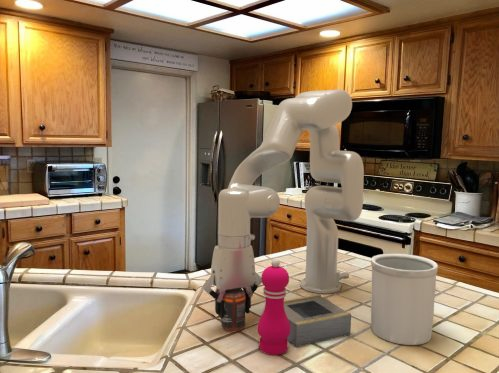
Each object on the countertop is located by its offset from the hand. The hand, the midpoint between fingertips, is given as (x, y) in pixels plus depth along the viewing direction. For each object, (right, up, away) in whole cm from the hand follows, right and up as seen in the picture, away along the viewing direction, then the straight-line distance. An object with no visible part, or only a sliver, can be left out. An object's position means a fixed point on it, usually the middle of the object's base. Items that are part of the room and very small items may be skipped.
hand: (233, 312), depth 101 cm
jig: (+18, -4, 0) cm, 19 cm away
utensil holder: (+40, -5, 0) cm, 40 cm away
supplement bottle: (0, -4, 0) cm, 4 cm away
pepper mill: (+9, -5, -9) cm, 14 cm away
